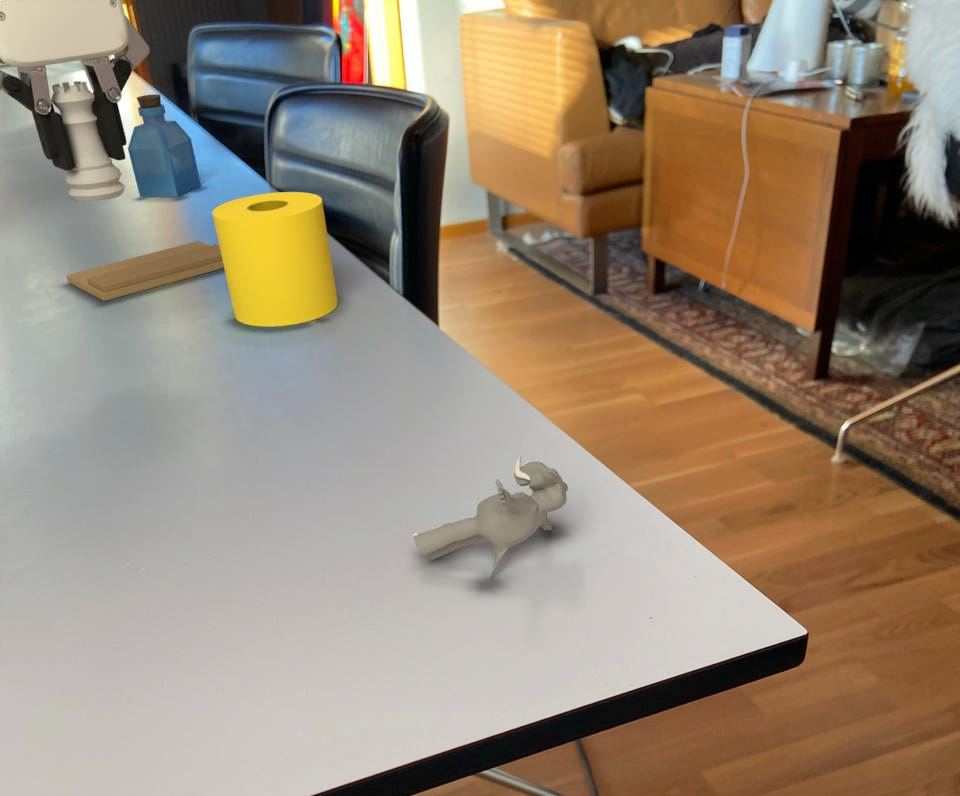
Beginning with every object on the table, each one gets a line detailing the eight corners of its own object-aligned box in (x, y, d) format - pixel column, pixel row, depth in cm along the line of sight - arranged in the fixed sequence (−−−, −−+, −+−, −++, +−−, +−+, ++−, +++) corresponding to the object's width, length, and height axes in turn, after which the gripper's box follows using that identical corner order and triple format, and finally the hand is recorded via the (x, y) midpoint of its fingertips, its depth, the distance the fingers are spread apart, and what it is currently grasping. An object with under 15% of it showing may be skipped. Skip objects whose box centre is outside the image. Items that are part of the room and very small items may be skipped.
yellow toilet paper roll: (234, 332, 94) (211, 226, 88) (234, 299, 102) (213, 200, 96) (342, 317, 95) (325, 211, 90) (333, 286, 103) (318, 187, 98)
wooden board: (104, 301, 105) (100, 287, 104) (68, 282, 111) (64, 269, 110) (241, 263, 112) (238, 250, 111) (200, 247, 119) (197, 235, 118)
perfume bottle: (177, 196, 141) (155, 100, 134) (140, 196, 143) (115, 101, 136) (201, 185, 145) (180, 91, 138) (164, 185, 147) (142, 93, 140)
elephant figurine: (439, 516, 64) (573, 465, 61) (464, 606, 63) (601, 558, 61) (372, 484, 55) (527, 423, 52) (401, 590, 54) (560, 533, 51)
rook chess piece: (124, 186, 84) (97, 77, 79) (129, 197, 81) (101, 84, 76) (68, 193, 83) (37, 83, 78) (71, 206, 80) (39, 91, 75)
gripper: (106, -131, 76) (166, 138, 87) (-129, -118, 68) (-31, 176, 79) (148, -136, 71) (205, 150, 82) (-100, -123, 63) (0, 191, 74)
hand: (89, 160), depth 80 cm, fingers closed on rook chess piece, 3 cm apart
